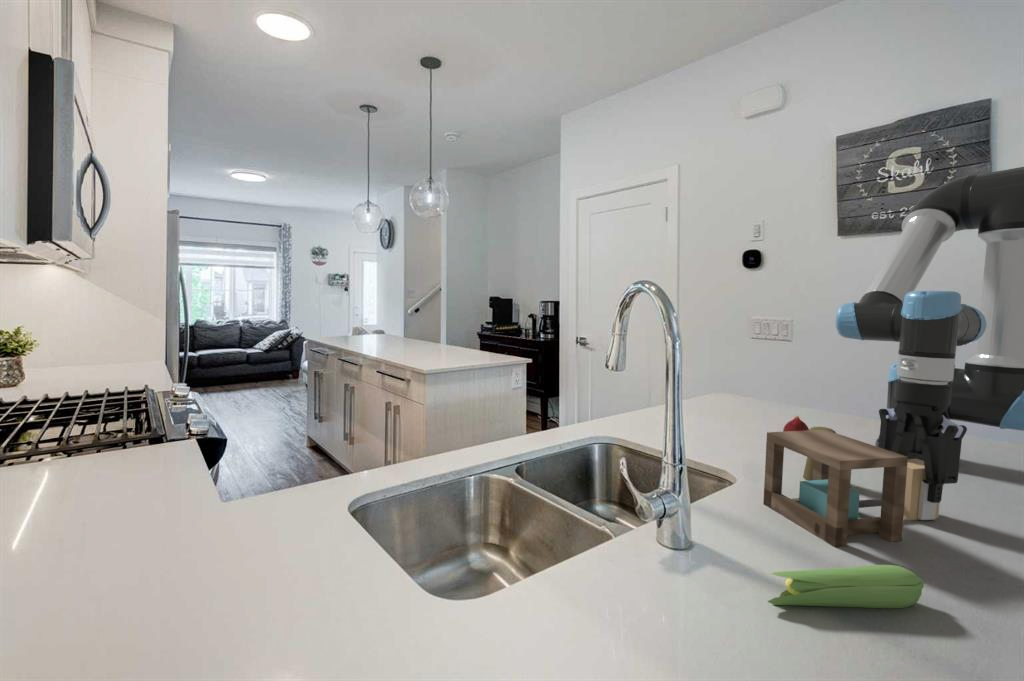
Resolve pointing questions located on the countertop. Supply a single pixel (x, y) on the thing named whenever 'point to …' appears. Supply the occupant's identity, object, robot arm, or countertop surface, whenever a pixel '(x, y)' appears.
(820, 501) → the square-ended dumbbell
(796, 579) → the edible corn
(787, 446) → the walnut bench
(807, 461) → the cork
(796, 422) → the onion
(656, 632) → the countertop surface
